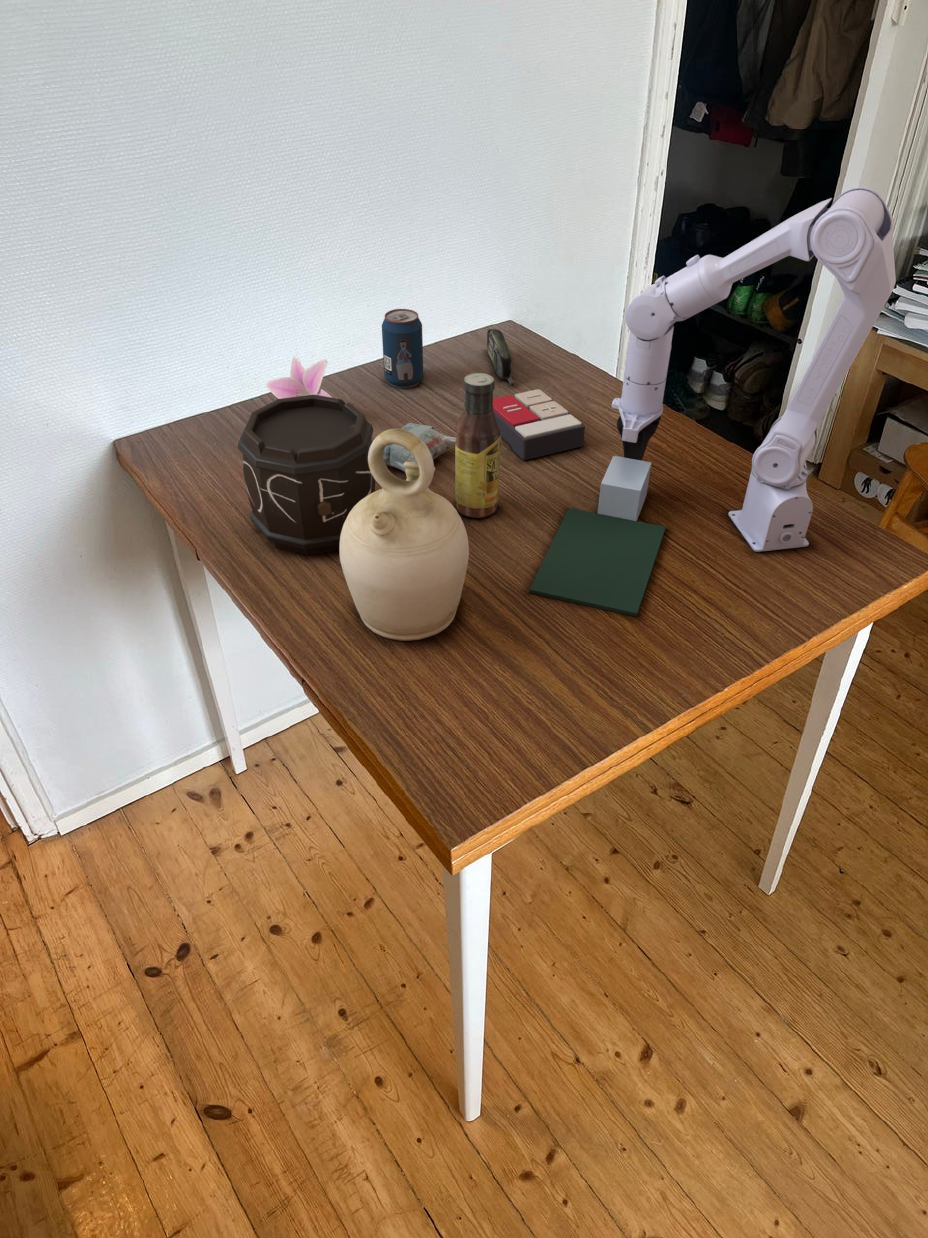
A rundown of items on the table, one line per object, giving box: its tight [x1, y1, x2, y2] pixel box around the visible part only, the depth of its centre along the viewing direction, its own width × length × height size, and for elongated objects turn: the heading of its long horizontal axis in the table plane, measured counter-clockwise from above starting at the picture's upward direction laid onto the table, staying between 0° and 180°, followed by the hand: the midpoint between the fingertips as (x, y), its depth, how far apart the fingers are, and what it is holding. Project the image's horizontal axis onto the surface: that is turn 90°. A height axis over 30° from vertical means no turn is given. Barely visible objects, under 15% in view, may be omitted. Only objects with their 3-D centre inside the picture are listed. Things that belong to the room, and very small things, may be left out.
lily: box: [265, 356, 333, 400], centre depth 152 cm, size 12×12×10 cm
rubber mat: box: [528, 507, 667, 617], centre depth 124 cm, size 20×14×1 cm
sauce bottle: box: [454, 372, 502, 519], centre depth 127 cm, size 6×6×20 cm
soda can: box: [381, 308, 424, 389], centre depth 160 cm, size 7×7×12 cm
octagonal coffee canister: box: [237, 395, 377, 556], centre depth 125 cm, size 18×18×16 cm
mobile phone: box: [486, 328, 515, 386], centre depth 167 cm, size 5×3×15 cm
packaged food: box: [383, 422, 456, 473], centre depth 141 cm, size 9×12×5 cm
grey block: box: [597, 455, 652, 521], centre depth 132 cm, size 8×6×6 cm
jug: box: [339, 428, 470, 642], centre depth 108 cm, size 15×16×25 cm
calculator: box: [493, 388, 586, 461], centre depth 149 cm, size 11×4×15 cm
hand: (632, 462), depth 135 cm, fingers closed
